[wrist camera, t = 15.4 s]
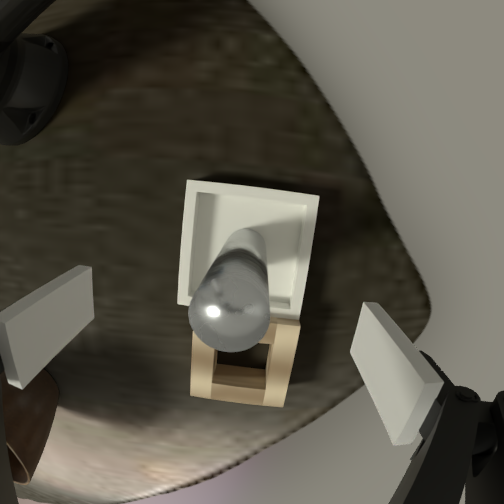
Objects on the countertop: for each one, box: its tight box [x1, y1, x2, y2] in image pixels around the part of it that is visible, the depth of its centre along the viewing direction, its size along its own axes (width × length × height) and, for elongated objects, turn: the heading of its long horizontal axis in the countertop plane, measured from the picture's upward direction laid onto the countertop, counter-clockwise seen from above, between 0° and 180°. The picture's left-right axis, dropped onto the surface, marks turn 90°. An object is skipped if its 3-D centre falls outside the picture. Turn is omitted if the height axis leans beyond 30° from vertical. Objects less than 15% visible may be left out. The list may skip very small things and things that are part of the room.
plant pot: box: [0, 369, 59, 485], centre depth 29 cm, size 15×15×16 cm
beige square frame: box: [190, 317, 301, 407], centre depth 32 cm, size 10×10×4 cm
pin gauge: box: [188, 228, 270, 352], centre depth 23 cm, size 4×4×16 cm
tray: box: [177, 180, 319, 320], centre depth 30 cm, size 12×12×2 cm
